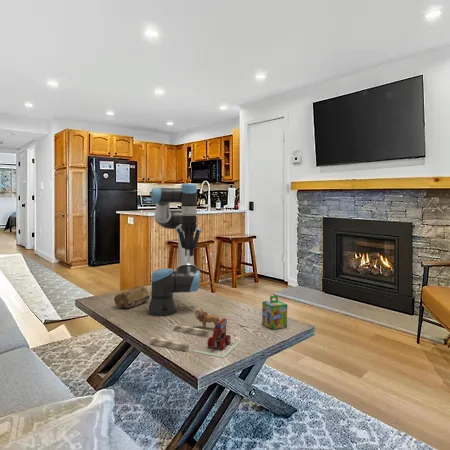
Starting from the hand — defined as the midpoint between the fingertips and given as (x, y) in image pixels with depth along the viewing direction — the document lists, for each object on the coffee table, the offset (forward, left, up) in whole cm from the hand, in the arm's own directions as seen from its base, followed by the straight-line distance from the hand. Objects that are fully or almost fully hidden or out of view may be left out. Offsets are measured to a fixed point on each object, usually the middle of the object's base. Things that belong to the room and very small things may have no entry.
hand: (189, 262), depth 178 cm
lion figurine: (+13, -4, -31) cm, 33 cm away
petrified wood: (-46, +11, -31) cm, 57 cm away
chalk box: (+40, +14, -31) cm, 52 cm away
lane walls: (+8, -21, -30) cm, 38 cm away
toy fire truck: (+26, -19, -31) cm, 45 cm away
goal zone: (+25, -21, -30) cm, 45 cm away
